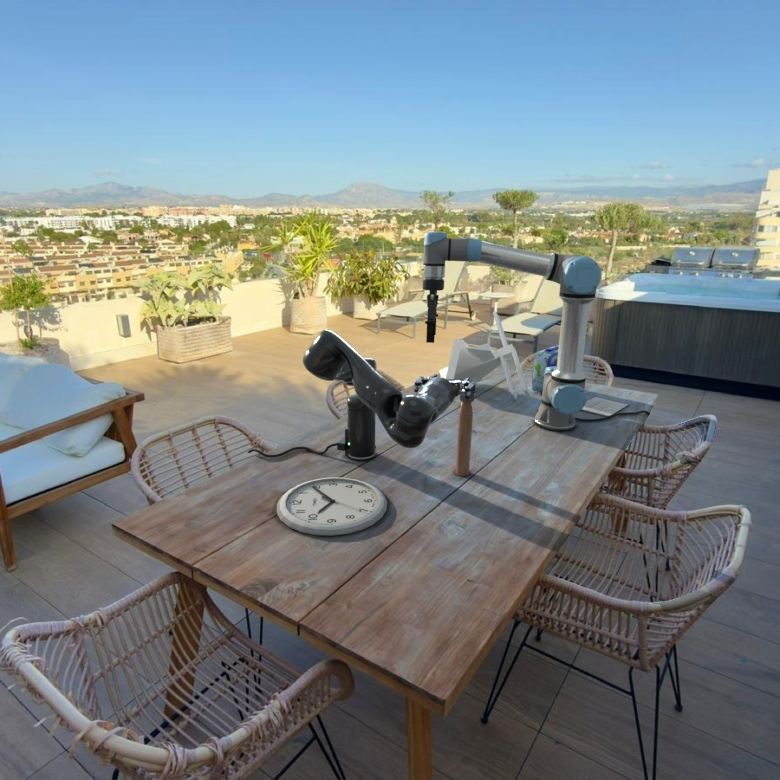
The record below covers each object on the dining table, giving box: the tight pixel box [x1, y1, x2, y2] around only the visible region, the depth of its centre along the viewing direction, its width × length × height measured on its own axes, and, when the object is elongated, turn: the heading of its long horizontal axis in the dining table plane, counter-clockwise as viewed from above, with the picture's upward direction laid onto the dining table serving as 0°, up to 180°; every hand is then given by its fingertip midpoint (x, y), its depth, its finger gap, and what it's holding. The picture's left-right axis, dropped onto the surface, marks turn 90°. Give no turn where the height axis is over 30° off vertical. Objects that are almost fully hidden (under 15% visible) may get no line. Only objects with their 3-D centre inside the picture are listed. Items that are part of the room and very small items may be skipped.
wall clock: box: [276, 476, 388, 537], centre depth 142 cm, size 30×2×30 cm
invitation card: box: [580, 396, 629, 417], centre depth 226 cm, size 21×1×15 cm
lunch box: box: [531, 344, 559, 393], centre depth 245 cm, size 26×11×21 cm, turn 134°
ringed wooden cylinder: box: [455, 401, 474, 477], centre depth 159 cm, size 4×4×26 cm
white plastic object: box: [438, 310, 531, 400], centre depth 245 cm, size 37×45×31 cm
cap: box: [459, 394, 475, 403], centre depth 156 cm, size 4×4×2 cm
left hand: (451, 379), depth 133 cm, fingers open, 8 cm apart
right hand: (431, 338), depth 187 cm, fingers open, 13 cm apart
